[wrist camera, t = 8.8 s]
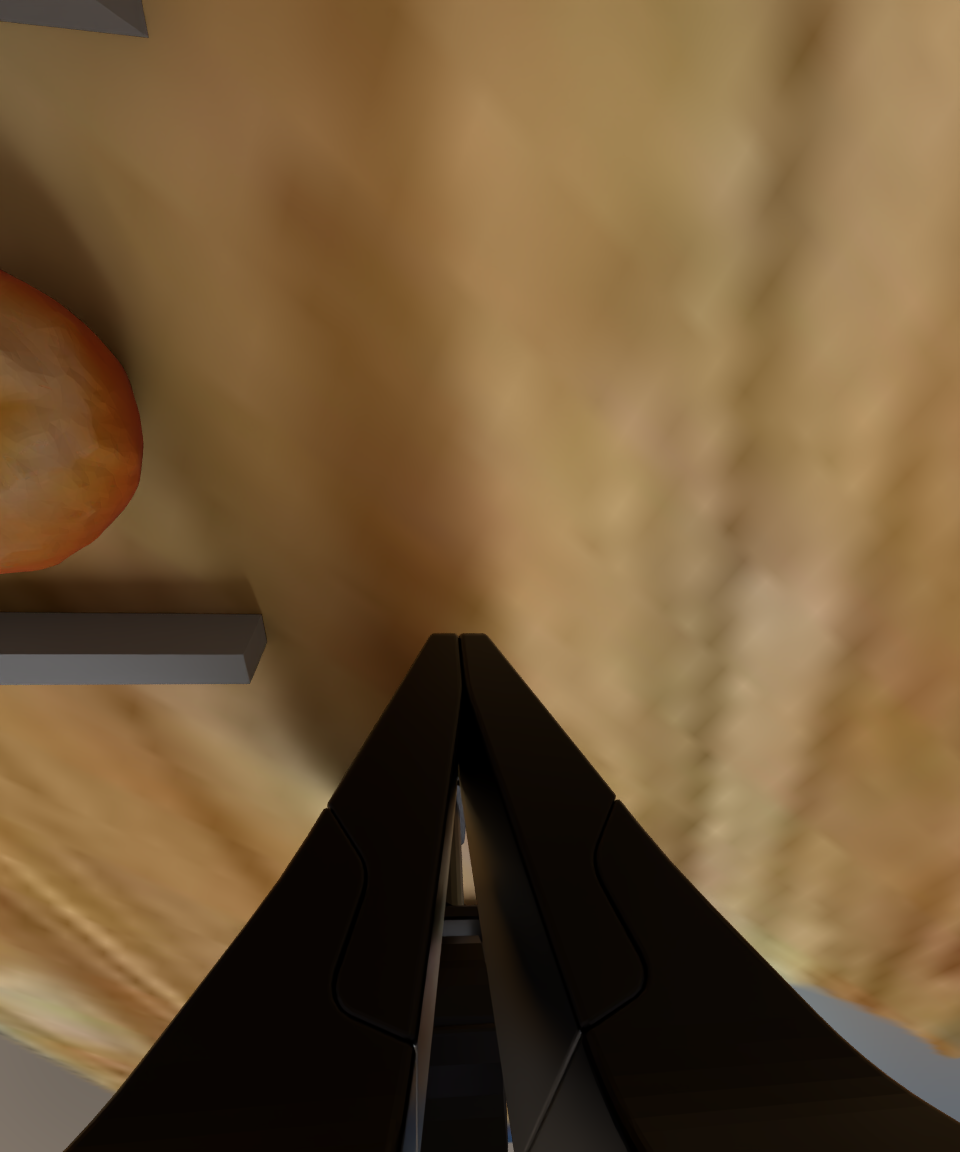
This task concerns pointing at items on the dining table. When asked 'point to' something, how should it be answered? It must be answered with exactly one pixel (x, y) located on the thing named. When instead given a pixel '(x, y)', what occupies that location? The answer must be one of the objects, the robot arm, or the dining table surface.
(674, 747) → the dining table surface
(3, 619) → the corral
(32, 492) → the fruit
